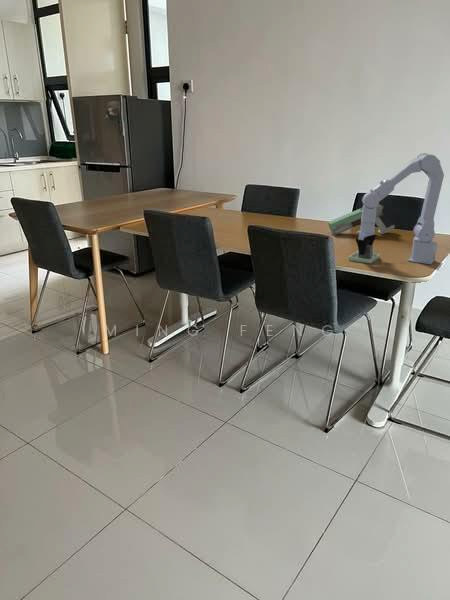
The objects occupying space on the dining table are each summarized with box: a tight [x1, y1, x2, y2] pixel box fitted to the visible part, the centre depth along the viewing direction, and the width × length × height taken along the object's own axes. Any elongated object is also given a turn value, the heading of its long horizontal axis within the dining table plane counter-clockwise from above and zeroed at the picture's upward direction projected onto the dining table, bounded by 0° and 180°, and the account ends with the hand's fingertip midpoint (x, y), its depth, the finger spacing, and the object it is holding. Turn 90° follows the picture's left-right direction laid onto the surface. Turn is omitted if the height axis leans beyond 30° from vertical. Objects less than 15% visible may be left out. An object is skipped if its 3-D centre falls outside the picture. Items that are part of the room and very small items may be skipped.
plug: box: [354, 245, 374, 259], centre depth 196 cm, size 7×3×6 cm, turn 55°
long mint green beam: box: [327, 203, 395, 236], centre depth 240 cm, size 7×32×20 cm, turn 92°
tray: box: [348, 252, 381, 265], centre depth 197 cm, size 10×11×2 cm
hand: (364, 252), depth 196 cm, fingers open, 7 cm apart
